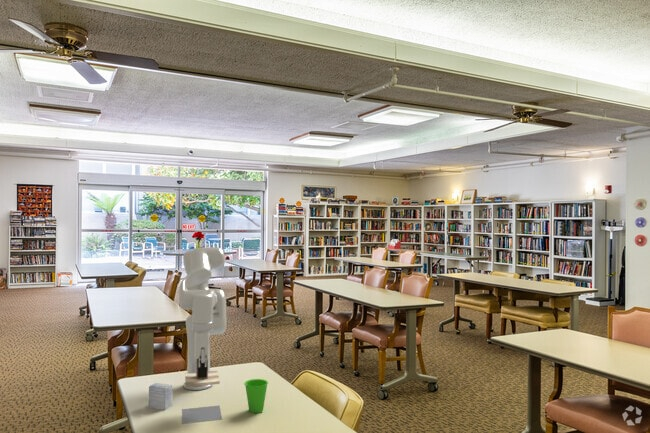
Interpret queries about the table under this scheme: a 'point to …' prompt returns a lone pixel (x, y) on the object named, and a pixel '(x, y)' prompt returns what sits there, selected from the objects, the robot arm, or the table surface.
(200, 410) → the mat
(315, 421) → the table surface
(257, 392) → the cup
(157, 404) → the medicine box
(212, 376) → the lid
